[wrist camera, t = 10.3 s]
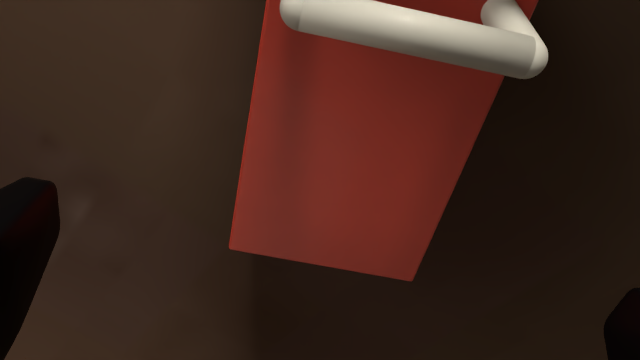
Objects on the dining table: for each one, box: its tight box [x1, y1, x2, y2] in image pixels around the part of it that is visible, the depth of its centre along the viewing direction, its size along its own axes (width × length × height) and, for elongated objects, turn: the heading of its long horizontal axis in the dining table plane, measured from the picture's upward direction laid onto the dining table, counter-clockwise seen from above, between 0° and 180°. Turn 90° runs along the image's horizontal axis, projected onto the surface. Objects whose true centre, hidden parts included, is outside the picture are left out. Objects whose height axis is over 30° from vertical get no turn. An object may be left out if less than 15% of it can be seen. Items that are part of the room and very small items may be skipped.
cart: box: [229, 0, 548, 281], centre depth 12 cm, size 7×4×6 cm, turn 168°
